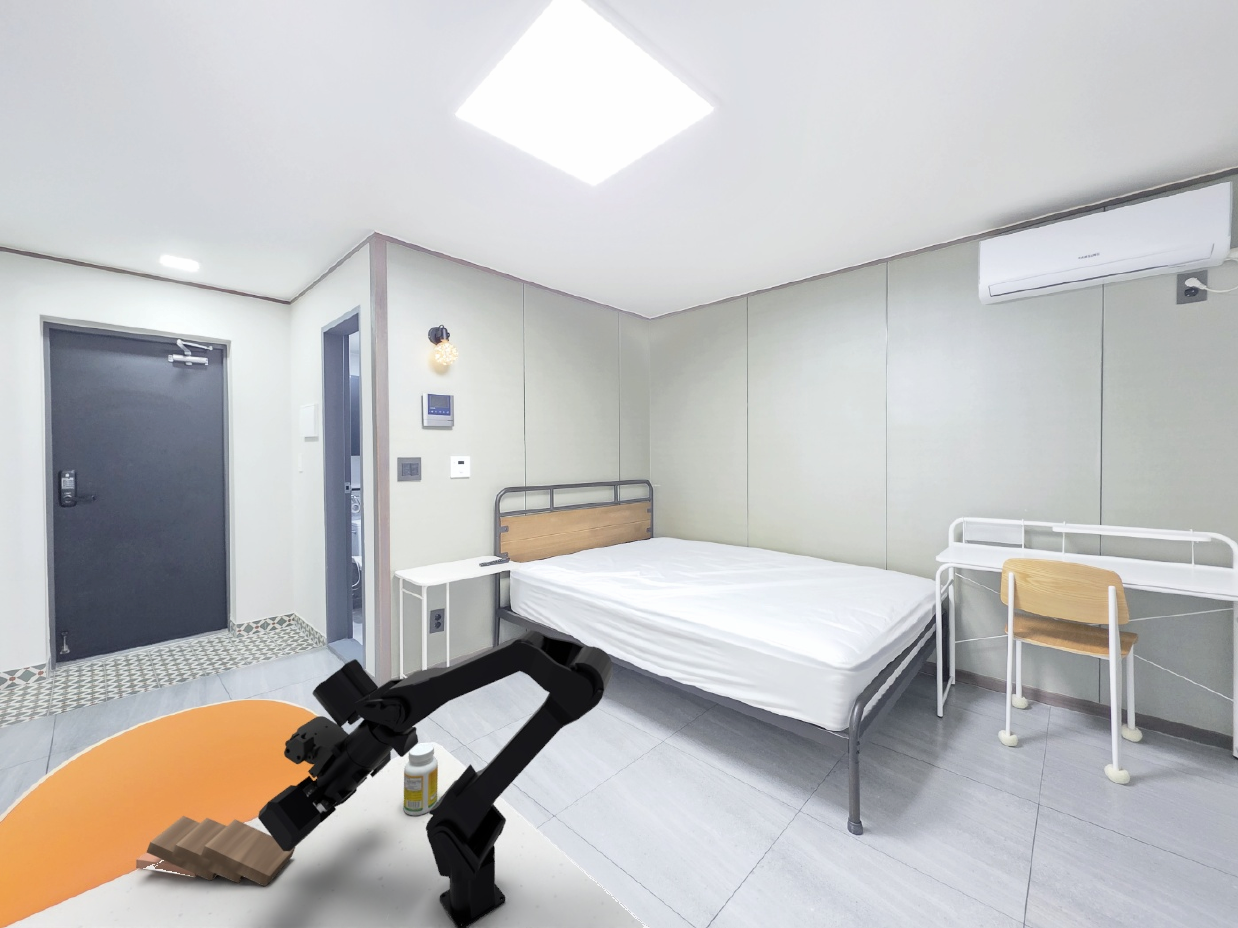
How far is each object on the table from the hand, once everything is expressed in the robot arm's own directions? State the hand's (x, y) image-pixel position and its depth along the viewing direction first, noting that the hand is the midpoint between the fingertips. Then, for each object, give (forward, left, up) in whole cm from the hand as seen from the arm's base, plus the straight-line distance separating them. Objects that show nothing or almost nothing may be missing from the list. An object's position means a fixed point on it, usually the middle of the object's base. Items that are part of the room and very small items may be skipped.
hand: (296, 821), depth 70 cm
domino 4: (+2, +2, -6) cm, 7 cm away
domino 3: (+5, +4, -6) cm, 9 cm away
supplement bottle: (+3, -18, -7) cm, 20 cm away
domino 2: (+10, +9, -7) cm, 15 cm away
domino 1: (+8, +7, -6) cm, 12 cm away
